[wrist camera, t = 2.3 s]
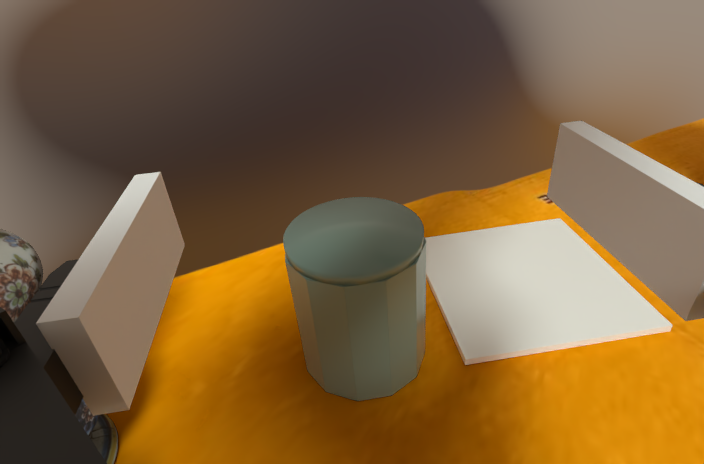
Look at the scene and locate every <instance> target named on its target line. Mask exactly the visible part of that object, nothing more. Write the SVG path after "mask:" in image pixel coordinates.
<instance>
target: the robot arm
mask: <svg viewBox="0 0 704 464" xmlns="http://www.w3.org/2000/svg"><path fill="white" fill-rule="evenodd" d="M547 197H548V198H550V199H551V200H552V201H553V202H554V203H555V204H556V205H557V206H558V207H560V208H561V209H562V210H563V211H564V212H565V213H566V214H567V215H568V216H570V217H571V218H572V219H573V220H574V221H575V222H576V223H577V224H578V225H580V226H581V227H582V228H583V229H584V230H585V231H586V232H587V233H588V234H590V235H591V236H592V237H593V238H594V239H595V240H596V241H597V242H598V243H600V244H601V245H602V246H603V247H604V248H605V249H606V250H607V251H608V252H609V253H611V254H612V255H613V256H614V257H615V258H616V259H617V260H618V261H619V262H621V263H622V264H623V265H624V266H625V267H626V268H627V269H628V270H629V271H631V272H632V273H633V274H634V275H635V276H636V277H637V278H638V279H639V280H641V281H642V282H643V283H644V284H645V285H646V286H647V287H648V288H649V289H651V290H652V291H653V292H654V293H655V294H656V295H657V296H658V297H659V298H661V299H662V300H663V301H664V302H665V303H666V304H667V305H668V306H669V307H671V308H672V309H673V310H674V311H675V312H676V313H677V314H678V315H679V316H681V317H682V318H683V319H684V320H685V321H688V320H695V319H701V318H704V185H702V184H700V183H696V182H694V181H692V180H690V179H688V178H686V177H684V176H683V175H681V174H679V173H677V172H675V171H673V170H672V169H670V168H668V167H666V166H664V165H662V164H661V163H659V162H657V161H655V160H653V159H651V158H650V157H648V156H646V155H644V154H642V153H640V152H639V151H637V150H635V149H633V148H631V147H629V146H628V145H626V144H624V143H622V142H620V141H618V140H617V139H615V138H613V137H611V136H609V135H607V134H605V133H604V132H602V131H600V130H598V129H596V128H594V127H593V126H591V125H589V124H587V123H585V122H583V121H575V122H568V123H560V128H559V133H558V139H557V145H556V150H555V155H554V161H553V166H552V171H551V177H550V182H549V188H548V193H547ZM183 248H184V241H183V238H182V236H181V233H180V230H179V226H178V223H177V220H176V217H175V214H174V211H173V208H172V206H171V202H170V199H169V197H168V193H167V190H166V187H165V184H164V181H163V178H162V175H161V172H156V173H149V174H140V175H135V176H134V178H133V179H132V181H131V182H130V184H129V185H128V187H127V188H126V190H125V191H124V193H123V194H122V196H121V197H120V199H119V200H118V202H117V203H116V205H115V206H114V208H113V209H112V211H111V212H110V214H109V215H108V217H107V218H106V220H105V221H104V223H103V224H102V225H101V227H100V228H99V230H98V232H97V233H96V234H95V236H94V238H93V239H92V240H91V242H90V243H89V245H88V246H87V248H86V249H85V251H84V252H83V254H82V255H81V257H80V259H78V260H72V261H66V262H65V263H64V264H62V265H61V266H60V267H59V268H57V269H56V270H55V271H53V272H52V273H51V274H50V275H49V276H48V278H47V279H46V280H45V282H44V283H43V284H42V285H41V287H40V288H39V289H40V291H37V292H36V294H35V295H34V296H33V298H32V299H31V303H28V305H27V306H26V307H25V309H24V310H23V311H22V313H21V314H20V316H19V317H18V318H17V320H16V321H15V322H13V321H12V319H11V318H10V316H9V315H8V313H7V312H6V310H4V309H3V308H1V307H0V464H107V463H106V461H105V460H104V458H103V457H102V455H101V454H100V452H99V451H98V449H97V448H96V446H95V445H94V443H93V442H92V440H91V439H90V437H89V436H88V434H87V433H86V431H85V430H84V428H83V427H82V425H81V424H80V422H79V421H78V419H77V417H76V416H75V415H76V412H77V410H78V408H79V406H80V404H81V401H82V399H83V400H84V402H85V403H86V405H87V406H88V408H89V410H90V411H91V413H92V414H93V416H95V415H101V414H107V413H113V412H120V411H126V410H129V409H130V406H131V403H132V400H133V397H134V394H135V391H136V388H137V385H138V382H139V379H140V376H141V373H142V371H143V368H144V365H145V362H146V359H147V356H148V353H149V350H150V347H151V344H152V341H153V338H154V335H155V332H156V329H157V326H158V323H159V320H160V317H161V314H162V311H163V308H164V305H165V302H166V299H167V296H168V293H169V290H170V287H171V284H172V281H173V278H174V275H175V272H176V269H177V266H178V263H179V260H180V257H181V254H182V251H183Z"/></svg>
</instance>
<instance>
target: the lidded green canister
mask: <svg viewBox="0 0 704 464" xmlns="http://www.w3.org/2000/svg"><path fill="white" fill-rule="evenodd" d="M283 242H284V249H285V262H286V267H287V272H288V277H289V282H290V287H291V292H292V297H293V302H294V307H295V311H296V316H297V321H298V326H299V331H300V336H301V341H302V346H303V351H304V356H305V361H306V366H307V371H308V372H309V373H310V375H311V376H312V377H313V378H314V379H315V380H316V381H317V382H318V383H319V385H320V386H321V387H322V388H323V389H324V390H325V391H326V392H328V393H332V394H335V395H338V396H342V397H345V398H348V399H351V400H355V401H362V400H368V399H374V398H380V397H386V396H392V395H393V394H394V393H396V392H397V391H398V390H400V389H401V388H402V387H404V386H405V385H406V384H408V383H409V382H410V381H412V380H413V379H414V378H416V377H417V374H418V371H419V368H420V366H421V363H422V360H423V357H424V354H425V318H426V240H425V238H424V227H423V224H422V221H421V220H420V218H419V217H418V216H417V215H416V214H415V213H414V212H413V211H412V210H410V209H409V208H407V207H405V206H403V205H401V204H399V203H396V202H393V201H389V200H385V199H379V198H370V197H354V198H344V199H338V200H334V201H329V202H326V203H323V204H320V205H318V206H315V207H313V208H311V209H308V210H307V211H305V212H303V213H302V214H300V215H299V216H298V217H296V218H295V219H294V220H293V221H292V222H291V223H290V225H289V226H288V227H287V229H286V231H285V234H284V239H283Z"/></svg>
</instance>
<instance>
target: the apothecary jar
mask: <svg viewBox="0 0 704 464" xmlns="http://www.w3.org/2000/svg"><path fill="white" fill-rule="evenodd" d="M42 278H43V269H42V265H41V261H40V259H39V256H38V254H37V253H36V251H35V250H34V249H33V247H32V246H31V245H30V244H29V243H27V242H26V241H25V240H23V239H22V238H20V237H19V236H17V235H15V234H13V233H10V232H8V231H6V230H3V229H0V307H1V308H3V309H4V310H6V312H7V313H8V315H9V316H10V318H11V319H12V321H13V322H15V321H16V320H17V318H18V317H19V316H20V314H21V313H22V311H23V310H24V309H25V307H26V306H27V305H28V303H31V299H32V298H33V296H34V295H35V294H36V292H37V291H40V289H39V288H40V287H41V284H42ZM75 416H76V417H77V419H78V421H79V422H80V424H81V425H82V427H83V428H84V430H85V431H86V433H87V434H88V436H89V437H90V439H91V440H92V442H93V443H94V445H95V446H96V448H97V449H98V451H99V452H100V454H101V455H102V457H103V458H104V460H105V461H106V463H107V464H114V461H115V458H116V454H117V449H118V433H117V430H116V427H115V425H114V423H113V421H112V420H111V419H110V418H109V417H108V416H107V415H106V414H101V415H95V416H93V414H92V413H91V411H90V410H89V408H88V406H87V405H86V403H85V402H84V400H83V399H82V401H81V404H80V406H79V408H78V410H77V412H76V415H75Z"/></svg>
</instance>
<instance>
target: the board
mask: <svg viewBox="0 0 704 464" xmlns="http://www.w3.org/2000/svg"><path fill="white" fill-rule="evenodd" d="M425 240H426V279H427V281H428V283H429V285H430V288H431V290H432V292H433V294H434V297H435V299H436V301H437V303H438V306H439V308H440V310H441V312H442V314H443V317H444V319H445V321H446V323H447V326H448V328H449V330H450V332H451V335H452V337H453V339H454V341H455V344H456V346H457V348H458V350H459V353H460V355H461V357H462V359H463V361H464V364H465V365H469V364H475V363H481V362H487V361H493V360H499V359H505V358H511V357H517V356H523V355H529V354H535V353H541V352H547V351H553V350H559V349H565V348H571V347H577V346H583V345H589V344H595V343H601V342H607V341H613V340H619V339H625V338H632V337H638V336H644V335H650V334H656V333H662V332H668V331H670V330H671V328H672V326H673V325H672V324H671V323H670V322H669V321H668V320H667V319H665V318H664V317H663V316H662V315H661V314H660V313H659V312H658V311H657V310H656V309H655V308H654V307H653V306H652V305H651V304H650V303H649V302H648V301H647V300H645V299H644V298H643V297H642V296H641V295H640V294H639V293H638V292H637V291H636V290H635V289H634V288H633V287H632V286H631V285H630V284H629V283H628V282H626V281H625V280H624V279H623V278H622V277H621V276H620V275H619V274H618V273H617V272H616V271H615V270H614V269H613V268H612V267H611V266H610V265H609V264H608V263H606V262H605V261H604V260H603V259H602V258H601V257H600V256H599V255H598V254H597V253H596V252H595V251H594V250H593V249H592V248H591V247H590V246H589V245H588V244H586V243H585V242H584V241H583V240H582V239H581V238H580V237H579V236H578V235H577V234H576V233H575V232H574V231H573V230H572V229H571V228H570V227H569V226H568V225H566V224H565V223H564V222H563V221H562V220H561V219H560V218H558V219H551V220H544V221H538V222H531V223H524V224H517V225H510V226H503V227H496V228H489V229H482V230H475V231H468V232H461V233H455V234H448V235H441V236H434V237H427V238H425Z"/></svg>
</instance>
